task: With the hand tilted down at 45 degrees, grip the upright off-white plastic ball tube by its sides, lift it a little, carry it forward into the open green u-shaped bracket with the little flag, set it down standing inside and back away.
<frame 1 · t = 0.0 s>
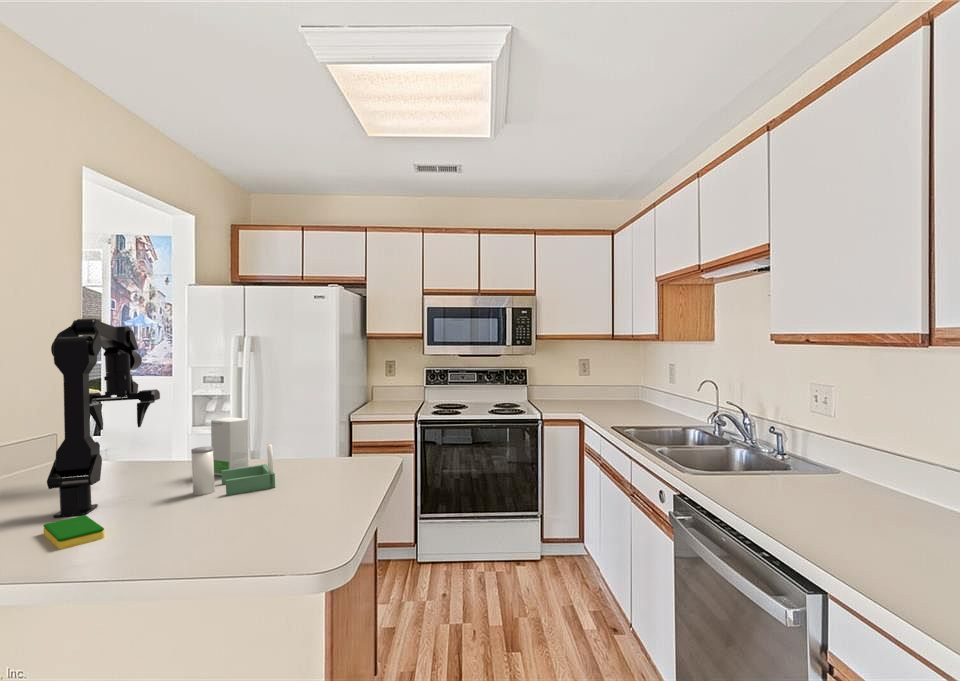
hand: (120, 428, 151), 15 cm above the counter, tool pointing down, fingers open, 9 cm apart
skincare box: (231, 474, 156), on the counter
dish sponge: (73, 539, 108), on the counter
green u-shaped bracket: (247, 485, 142), on the counter
ball tube: (204, 492, 137), on the counter
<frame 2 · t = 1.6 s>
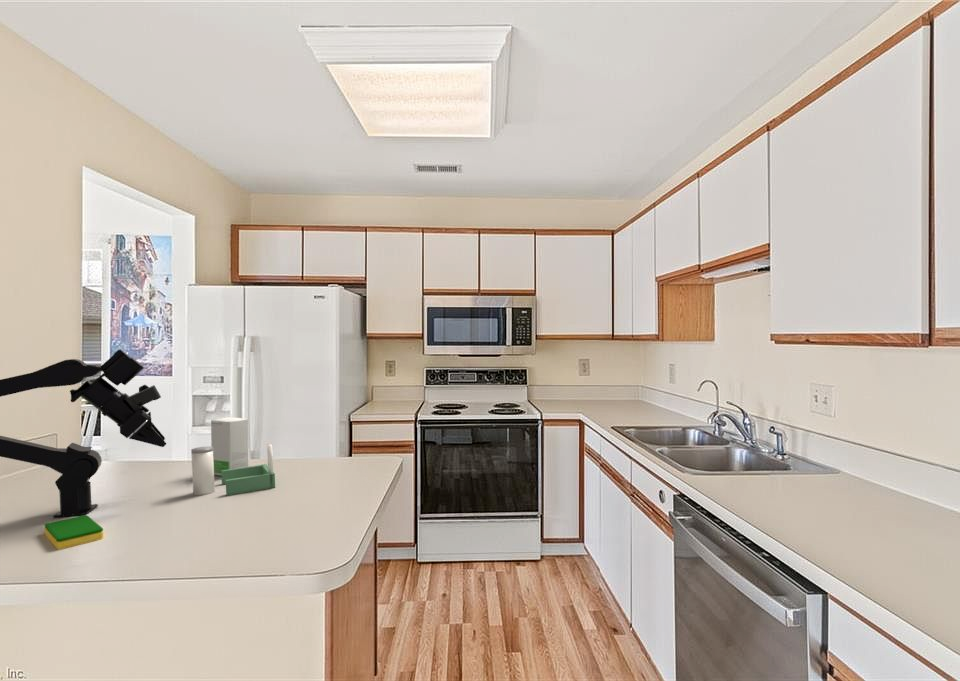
hand: (164, 442, 133), 13 cm above the counter, tool tilted 45°, fingers open, 9 cm apart
nothing on the counter moved.
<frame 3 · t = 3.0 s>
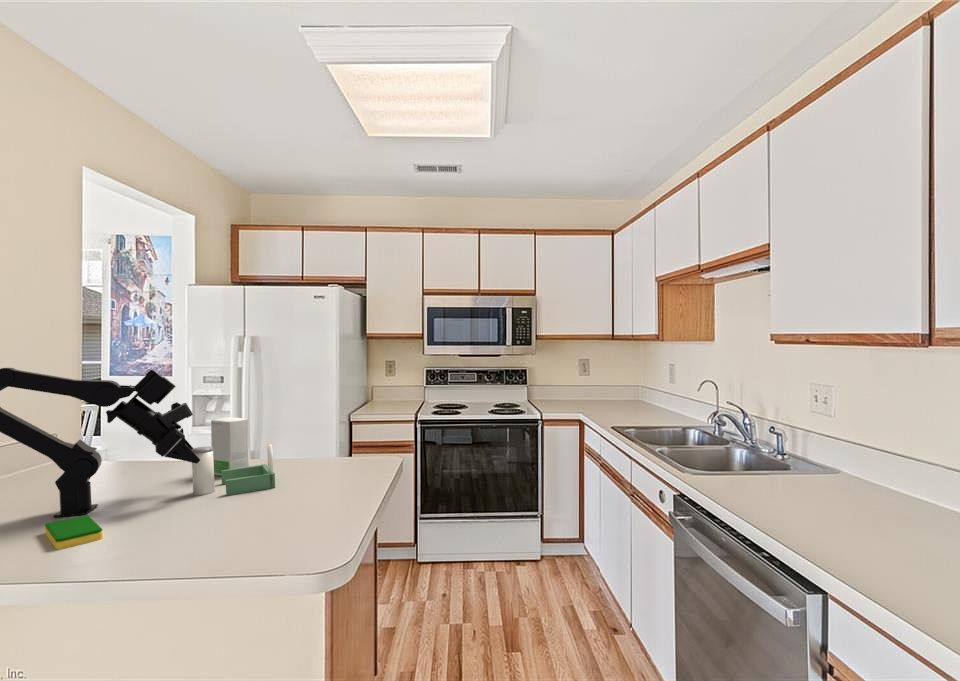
hand: (197, 458, 136), 9 cm above the counter, tool tilted 45°, fingers open, 9 cm apart
nothing on the counter moved.
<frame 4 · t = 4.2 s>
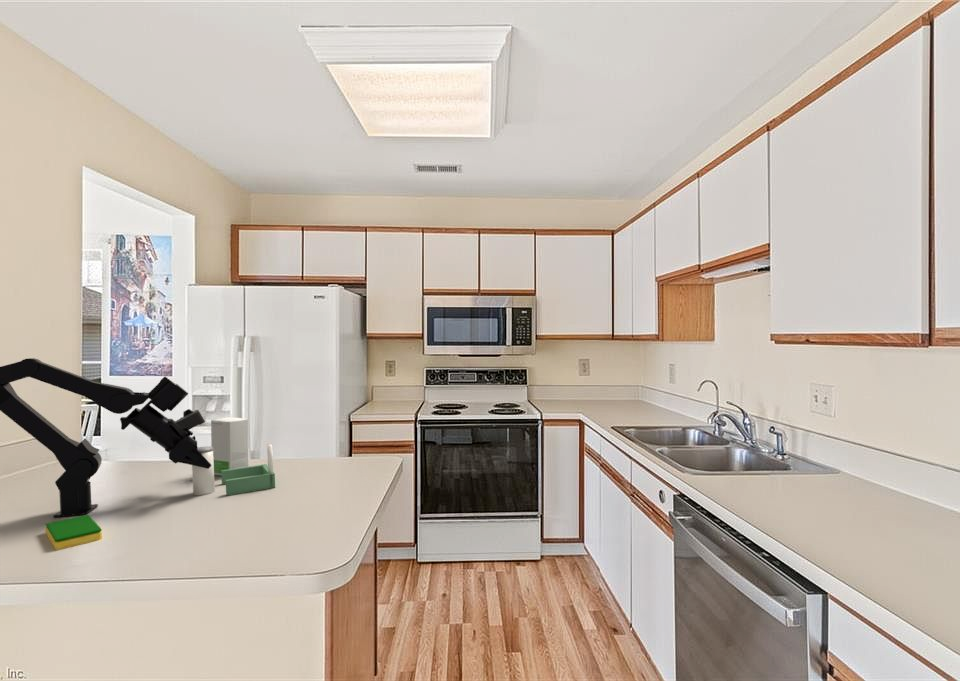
hand: (209, 465, 137), 7 cm above the counter, tool tilted 45°, fingers closed on ball tube, 5 cm apart
ball tube: (204, 492, 137), on the counter, touching gripper
everything else where it was.
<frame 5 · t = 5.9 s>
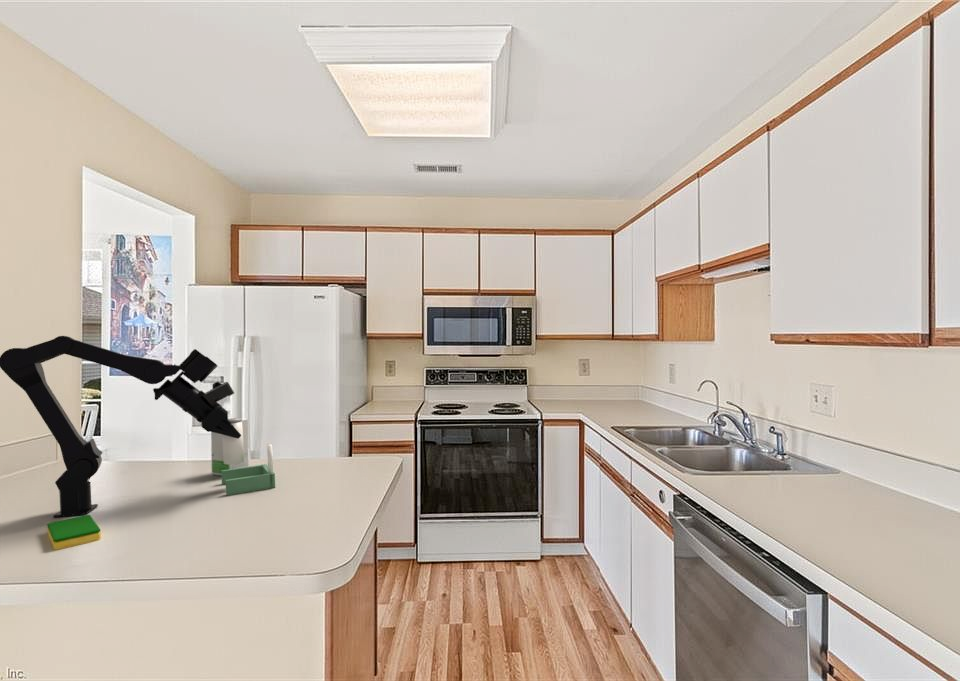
hand: (238, 435, 141), 13 cm above the counter, tool tilted 45°, fingers closed on ball tube, 5 cm apart
ball tube: (234, 462, 140), point 7 cm above the counter, touching gripper
everything else where it was.
when the fingers open (8 cm above the counter, at t = 7.6 s): ball tube drops 1 cm, on the counter.
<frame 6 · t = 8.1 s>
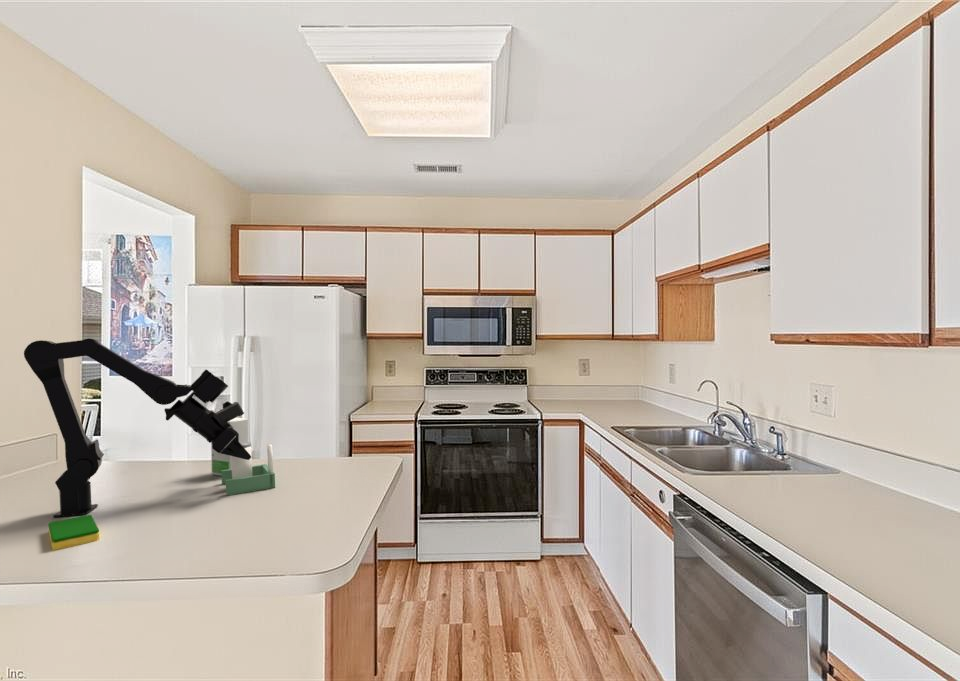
hand: (247, 455, 142), 8 cm above the counter, tool tilted 45°, fingers open, 9 cm apart
ball tube: (242, 486, 141), on the counter
everything else where it was.
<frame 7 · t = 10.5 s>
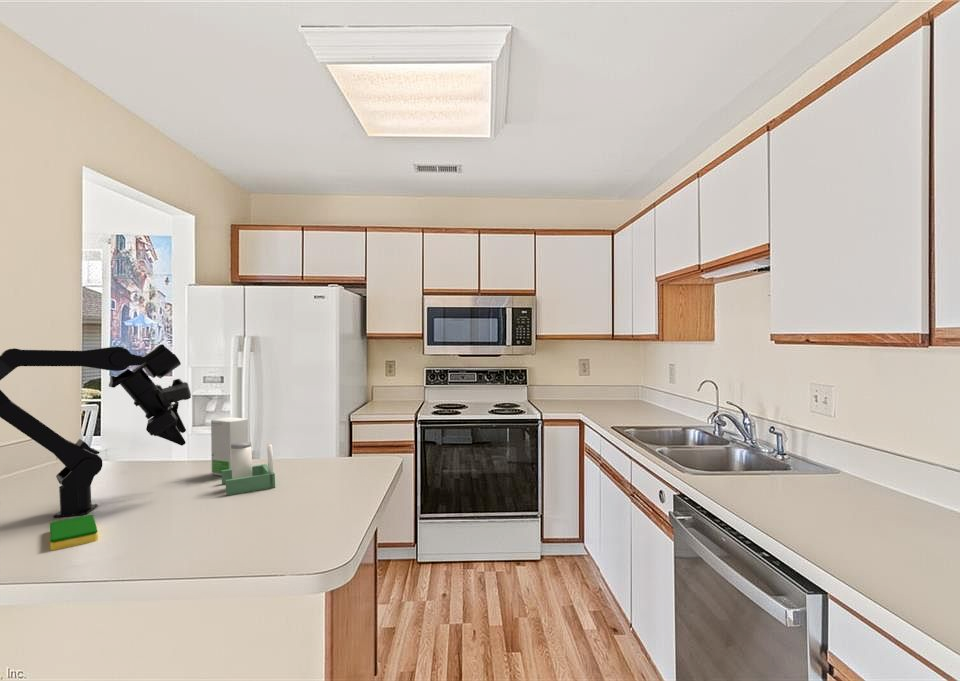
hand: (184, 437, 140), 13 cm above the counter, tool tilted 35°, fingers open, 9 cm apart
nothing on the counter moved.
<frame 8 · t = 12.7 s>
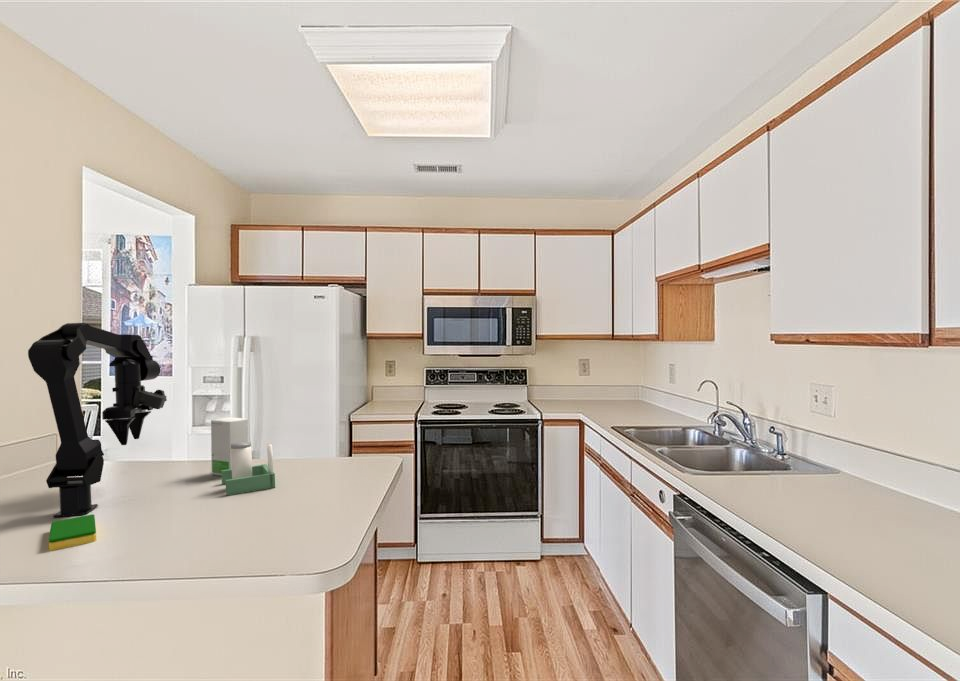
hand: (130, 441, 144), 12 cm above the counter, tool pointing down, fingers open, 9 cm apart
nothing on the counter moved.
at the end: ball tube 1.1 cm from the green u-shaped bracket (horizontally); ball tube tilted 1°; the gripper is holding nothing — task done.
